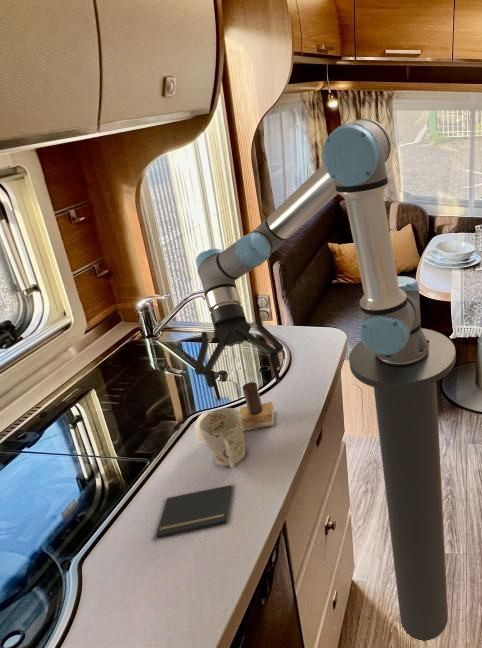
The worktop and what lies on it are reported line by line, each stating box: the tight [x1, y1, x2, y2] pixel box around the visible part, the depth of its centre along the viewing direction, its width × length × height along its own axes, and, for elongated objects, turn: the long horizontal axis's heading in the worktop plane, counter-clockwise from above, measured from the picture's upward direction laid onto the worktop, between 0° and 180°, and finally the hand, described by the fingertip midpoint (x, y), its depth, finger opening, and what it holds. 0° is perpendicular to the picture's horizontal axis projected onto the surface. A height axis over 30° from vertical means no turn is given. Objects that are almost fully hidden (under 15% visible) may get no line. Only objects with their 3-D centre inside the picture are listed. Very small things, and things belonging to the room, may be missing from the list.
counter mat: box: [155, 484, 232, 538], centre depth 96 cm, size 12×9×1 cm
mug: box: [199, 407, 246, 469], centre depth 105 cm, size 8×13×10 cm, turn 33°
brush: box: [239, 381, 275, 432], centre depth 117 cm, size 7×5×10 cm, turn 104°
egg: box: [194, 410, 214, 445], centre depth 112 cm, size 6×6×8 cm
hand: (249, 390), depth 117 cm, fingers open, 13 cm apart
